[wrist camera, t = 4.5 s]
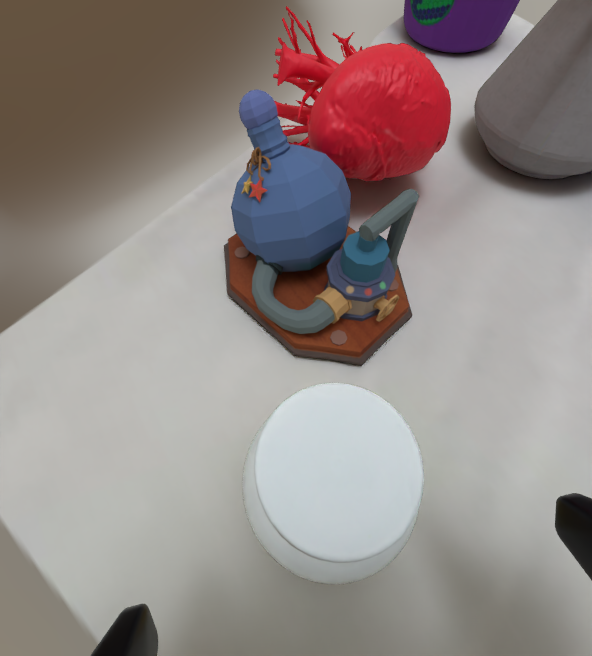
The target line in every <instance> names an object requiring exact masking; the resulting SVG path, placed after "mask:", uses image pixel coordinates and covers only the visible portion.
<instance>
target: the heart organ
mask: <svg viewBox="0 0 592 656" xmlns="http://www.w3.org/2000/svg"><path fill="white" fill-rule="evenodd" d="M286 10H288V14H289V13H290V14H291V15H292V17H293V18H294V19H295V21H296V22H297V24H298V27H299V28H300V29H301V30H302V32H303V33H304V34H305V36H306V37H307V39H308V40H309V41H310V43H311V45H312V46H313V49H314V51H315V52H316V54H317V56H316V55H311V54H305V53H301V50H300V49H299V47H298V44H297V37H296V34H295V32H294V26H293V23H294V20H293V19H292V18H291V17H290V19H291V28H290V30H291V32H292V35H293V39H292V37H291V35H290V32H289V29H288V26H287V24H286V22H285V20H284V18H283V19H282V21H283V23H284V26H285V28H286V31H287V32H288V35H289V37H290V40H291V42H292V44H293V46H294V48H295V51H294V50H292V49H290V48H288V47H287V46H286V44H285V43H283V41H282V40H281V38H278V40H279V42H280V44H281V45H282V49H276V52H275V55H276V56H280V62H279V61H278V60H276V62H277V63H278V64H279V71H278V74H274V75H273V77H274V78H277V79H278V86H279V85H280V84H282V83H283V82H284V81H287V82H290V83H292V84H294V85H296V86H298V87H299V88H301V89H302V90H304V91H305V92H306V94H305V95H304V97H303V100H302V102H300V101H297V102H298V103H299V104H301V106H291V105H287V104H281V103H278V102H276V101H274V102H275V104H276V106H277V112H278V116H279V117H282V118H286V119H289V120H292V121H294V122H297V123H300V124H303V125H304V126H293V125H292V126H289V125H287V126H281V127H295V128H293V129H289V130H283V134H284V135H286V136H290V135H297V134H300V133H307V132H308V137H307V138H306V139H305V140H303V141H302V142H300V143H299V144H298V143H297V142H294V143H290V142H288V143H289V144H294V145H301V146H304V147H307V148H310V149H313V150H315V151H318V152H321V153H324V154H326V155H327V156H328V157H329V158H330V159H331V160H332V161H333V162H334V163H335V164H336V165H337V166H338V167H339V168H340V169H341V170H342V171H343V174H344V176H345V177H346V178H357V179H362V180H364V181H378V180H380V181H382V180H383V179H384V178H388V179H389V178H392V177H398V176H402V175H405V174H410V173H413V172H416V171H418V170H420V169H422V168H423V167H424V166H425V165H427V163H428V162H429V160H430V159H431V158H432V157H433V155H434V153H436V152H438V151H439V150H440V149H441V147H442V146H443V145H444V143H445V141H446V137H447V133H448V129H449V124H450V114H451V101H450V95H449V90H448V89H447V88H446V87H445V85H444V82H443V80H442V78H441V76H440V74H439V73H438V72H437V70H436V69H435V68H434V66H433V64H432V63H431V62H430V60H429V59H428V58H426V55H425V53H422V52H421V51H418V50H417V49H416V48H413V47H412V46H410V45H408V44H405V43H400V44H398V45H396V44H392V43H387V44H380V45H376V46H372V47H368V48H366V49H364V50H362V46H361V47H360V50H359V51H358V52H356V51H355V49H354V48H353V46H351V45H350V44H349V45H350V47H349V45H348V41H349V39H350V38H351V36H352V34H353V33H352V34H351V35H350V36H349V37H348V38H345V39H343V38H340V37H339V36H338V35H336V34H335V33H333V36H335V37H336V38H337V39H338V42H339V43H342V44H343V46H342V45H341V49H342V52H343V49H344V51H345V55H346V56H345V55H344V53H343V56H344V57H345V58H346V59H345V60H344V61H343V62H342V63H341V64H338V63H336V62H334V61H333V60H331V59H330V58H328V57H326V56H325V55H324V54H323V53H322V52H321V50H320V49H319V47H318V46H317V44H316V42H315V37H314V34H313V31H312V29H311V26H310V23H309V22H308V21H307V23H308V26H309V28H310V32H311V37H312V38H311V37H310V36H309V34H308V33H307V31H306V30H305V28H304V27H303V26H302V25H301V23H300V22H299V21H298V19H297V18H296V16H295V14H294V13H293V12H291V11H290V10H289V8H288V7H286ZM290 14H289V16H290ZM343 47H344V48H343ZM350 48H351V49H352V51H353V52H354V53H353V52H352V51H351V49H350ZM297 78H300V79H297ZM308 79H309V80H313V81H314V82H309V81H308ZM321 87H322V89H321V91H320V93H319V92H318V91H317V89H318V88H321ZM309 96H311V97H312V98H313V99H314V100H315V102H314V104H313V106H312V105H307V104H306V103H305V101H306V100H307V98H308V97H309ZM303 106H306V107H303ZM308 143H309V145H307V144H308Z"/></svg>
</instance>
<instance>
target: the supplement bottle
mask: <svg viewBox="0 0 592 656" xmlns="http://www.w3.org/2000/svg"><path fill="white" fill-rule="evenodd" d="M423 486H424V469H423V461H422V457H421V453H420V449H419V446H418V444H417V441H416V438H415V436H414V434H413V432H412V430H411V429H410V427H409V426H408V424H407V422H406V421H405V419H404V418H403V417H402V416H401V414H400V413H399V412H398V411H397V410H396V409H395V408H394V407H393V406H392V405H391V404H389V403H388V402H387V401H386V400H384V399H383V398H381V397H380V396H378V395H377V394H375V393H373V392H371V391H369V390H367V389H364V388H362V387H358V386H355V385H351V384H345V383H324V384H318V385H314V386H310V387H308V388H305V389H303V390H300V391H298V392H296V393H295V394H293V395H291V396H290V397H288V398H287V399H286V400H284V401H283V402H282V403H281V404H280V405H279V406H278V407H277V408H276V409H275V411H274V412H273V413H272V414H271V416H270V417H269V418H268V419H267V420H266V421H265V422H264V424H263V425H262V426H261V427H260V429H259V430H258V432H257V434H256V435H255V437H254V439H253V441H252V443H251V445H250V448H249V450H248V453H247V457H246V460H245V465H244V471H243V498H244V505H245V510H246V513H247V516H248V519H249V522H250V525H251V527H252V529H253V531H254V533H255V535H256V537H257V538H258V540H259V542H260V543H261V544H262V546H263V547H264V549H265V550H266V551H267V552H268V553H269V554H270V555H271V556H272V558H273V559H274V560H276V561H277V562H278V563H279V564H280V565H281V566H283V567H284V568H286V569H287V570H289V571H290V572H292V573H293V574H295V575H297V576H299V577H301V578H304V579H307V580H310V581H313V582H317V583H322V584H347V583H352V582H356V581H360V580H362V579H365V578H368V577H370V576H372V575H374V574H375V573H377V572H379V571H381V570H382V569H383V568H385V567H386V566H387V565H388V564H389V563H390V562H391V561H392V560H394V559H395V558H396V556H397V555H398V554H399V553H400V552H401V550H402V549H403V547H404V546H405V544H406V543H407V541H408V539H409V537H410V535H411V533H412V530H413V528H414V525H415V522H416V519H417V515H418V510H419V505H420V502H421V498H422V494H423Z"/></svg>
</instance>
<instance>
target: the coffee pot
mask: <svg viewBox="0 0 592 656" xmlns="http://www.w3.org/2000/svg"><path fill="white" fill-rule="evenodd" d="M475 121H476V125H477V129H478V131H479V133H480V136H481V137H482V139H483V140H484V142H485V144H486V148H487V150H488V151H489V153H490V154H491V156H492V157H494V158H495V159H496V160H497V161H498V162H499V163H500V164H502V165H504V166H505V167H507V168H509V169H510V170H513V171H515V172H518V173H520V174H523V175H527V176H531V177H535V178H543V179H558V178H565V177H568V176H571V175H575V174H582V173H586V172H590V171H592V0H558V1H557V2H556V3H555V4H554V5H553V6H552V8H551V9H550V10H549V11H548V12H547V13H546V14H545V15H544V17H543V18H542V19H541V20H540V21H539V22H538V23H537V25H536V26H535V27H534V28H533V29H532V30H531V31H530V32H529V34H528V35H527V36H526V37H525V38H524V39H523V40H522V42H521V43H520V44H519V45H518V46H517V47H516V48H515V49H514V51H513V52H512V53H511V54H510V55H509V56H508V57H507V59H506V60H505V61H504V62H503V63H502V64H501V65H500V66H499V68H498V69H497V70H496V71H495V72H494V73H493V74H492V75H491V77H490V78H489V79H488V80H487V81H486V82H485V83H484V85H483V86H482V87H481V88H480V90H479V91H478V94H477V98H476V101H475Z"/></svg>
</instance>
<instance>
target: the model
mask: <svg viewBox="0 0 592 656" xmlns="http://www.w3.org/2000/svg"><path fill="white" fill-rule="evenodd" d="M239 113H240V118H241V121H242V122H243V124H244V126H245V127H246V128H247V132H248V136H249V137H250V139H251V142H252V144H253V147H254V150H253V152H252V156H251V159H250V160H249V162H248V163H247V169H246V172H245V173H244V174H243V176H242V177H241V178H240V180H239V181H238V182H237V185H236V189H235V194H234V198H233V202H232V206H231V209H232V215H233V221H234V227H235V231H236V233H237V234H235V235H234V236H232V237H231V238H229V239H228V243H227V244H226V245H224V252H225V264H226V280H227V293H228V295H229V296H230V297H231V298H232V299H233V300H234V301H236V302H237V303H238V304H239V305H240V306H241V307H242V308H243V309H244V310H245V311H247V312H248V313H249V314H250V315H251V316H252V317H253V318H254V319H255V320H256V321H258V322H259V323H260V324H261V325H262V326H263V327H264V328H265V329H266V330H267V331H269V332H270V333H271V334H272V335H273V336H274V337H275V338H276V339H277V340H279V341H280V342H281V343H282V344H283V345H284V346H285V347H286V348H287V349H289V350H290V351H291V352H292V353H293V354H294V355H295V356H301V357H310V358H320V359H329V360H335V361H340V362H346V363H351V364H356V365H363V364H364V363H365V362H366V360H367V359H368V358H369V357H370V356H371V355H372V354H373V353H374V352H375V351H376V350H377V349H378V348H379V347H380V346H381V345H382V344H383V343H384V342H385V341H386V340H387V339H388V338H389V337H390V336H391V335H392V334H394V333H395V332H396V331H397V330H398V329H399V328H400V327H401V326H402V325H403V324H404V323H405V322H407V321H408V320H409V319H410V318H411V317H412V312H411V309H410V306H409V302H408V299H407V295H406V292H405V288H404V285H403V281H402V278H401V274H400V271H399V267H398V265H397V256H398V254H399V251H400V248H401V245H402V242H403V240H404V237H405V234H406V231H407V228H408V225H409V223H410V220H411V217H412V214H413V211H414V209H415V206H416V203H417V200H418V198H419V195H418V193H417V192H416V191H415V190H413V189H407V190H405V191H403V192H402V193H401V194H400V195H399V196H398V197H397V198H395V199H394V200H393V201H391V202H390V203H389V204H388V205H386V206H385V207H384V208H382V209H381V210H380V211H379V212H377V213H376V214H375V215H373V216H372V217H371V218H370V219H368V220H367V221H366V222H365V223H363V224H362V225H361V226H360V228H359V231H358V232H356V231H354V230H353V229H352V228H350V227H349V226H348V223H349V218H350V201H351V193H350V190H349V187H348V184H347V182H346V179H345V176H344V174H343V171H342V170H341V169H340V168H339V167H338V166H337V165H336V164H335V163H334V162H333V161H332V160H331V159H330V158H329V157H328V156H327V155H326V154H324V153H321V152H318V151H315V150H313V149H310V148H307V147H304V146H301V145H294V144H289V143H288V142H287V136H286V135H284V134H283V131H282V128H281V125H280V120H279V119H278V117H277V116H278V112H277V106H276V104H275V102H274V100H273V98H272V97H271V96H269V94H267V93H266V92H264V91H261V90H253V91H249V92H248V93H247V94H245V95H244V96H243V98H242V100H241V102H240V107H239ZM254 159H255V160H254ZM250 162H251V163H250ZM249 164H250V166H249ZM389 226H391V228H390V231H389V234H388V238H387V241H386V239H384V238H383V237H381V236H380V235H379V233H382V232H383V231H384V230H386V229H387V228H388V227H389Z"/></svg>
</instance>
